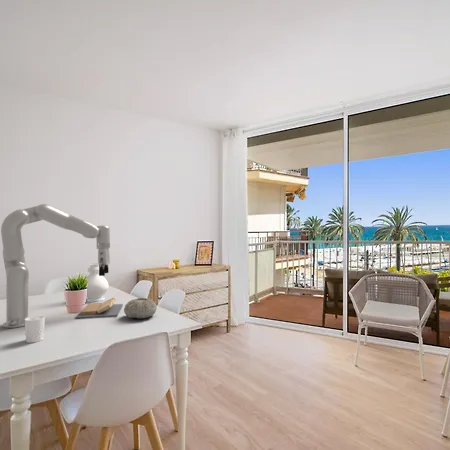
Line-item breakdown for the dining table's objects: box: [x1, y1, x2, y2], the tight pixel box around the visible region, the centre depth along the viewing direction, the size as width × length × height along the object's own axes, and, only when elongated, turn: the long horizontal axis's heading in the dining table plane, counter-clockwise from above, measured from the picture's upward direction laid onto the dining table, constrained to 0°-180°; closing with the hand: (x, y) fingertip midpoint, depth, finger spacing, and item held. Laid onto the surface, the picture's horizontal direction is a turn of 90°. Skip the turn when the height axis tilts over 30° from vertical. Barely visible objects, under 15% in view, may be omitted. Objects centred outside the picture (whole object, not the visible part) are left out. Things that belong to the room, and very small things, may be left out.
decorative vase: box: [86, 262, 110, 303], centre depth 223 cm, size 18×18×25 cm
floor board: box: [75, 302, 123, 320], centre depth 191 cm, size 26×22×3 cm
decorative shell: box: [123, 297, 157, 319], centre depth 180 cm, size 18×18×10 cm
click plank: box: [97, 296, 117, 314], centre depth 192 cm, size 20×8×2 cm, turn 11°
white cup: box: [24, 315, 46, 344], centre depth 143 cm, size 8×8×10 cm
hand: (103, 274), depth 192 cm, fingers open, 9 cm apart
